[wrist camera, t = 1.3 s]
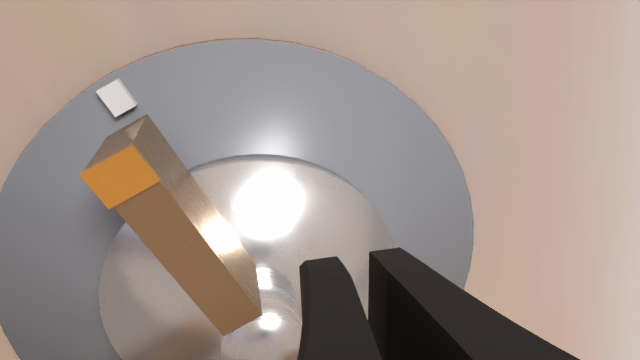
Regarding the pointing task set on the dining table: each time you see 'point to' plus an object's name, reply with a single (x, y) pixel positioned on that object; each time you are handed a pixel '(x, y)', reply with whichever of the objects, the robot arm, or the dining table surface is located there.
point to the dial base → (210, 144)
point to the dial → (219, 247)
